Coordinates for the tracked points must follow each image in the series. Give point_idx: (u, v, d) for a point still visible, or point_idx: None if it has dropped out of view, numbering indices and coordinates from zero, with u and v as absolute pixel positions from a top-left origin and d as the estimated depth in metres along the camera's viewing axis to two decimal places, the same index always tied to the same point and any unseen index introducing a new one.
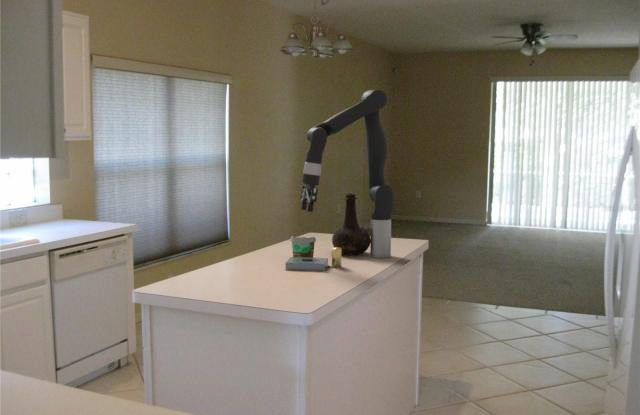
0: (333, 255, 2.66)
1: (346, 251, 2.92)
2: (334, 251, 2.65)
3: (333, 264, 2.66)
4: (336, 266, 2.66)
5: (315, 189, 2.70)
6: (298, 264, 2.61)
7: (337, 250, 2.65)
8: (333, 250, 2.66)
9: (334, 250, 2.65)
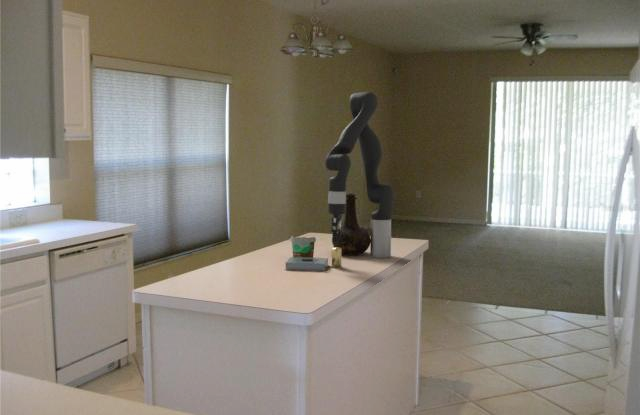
0: (333, 255, 2.66)
1: (346, 251, 2.92)
2: (334, 251, 2.65)
3: (333, 264, 2.66)
4: (336, 266, 2.66)
5: (335, 219, 2.59)
6: (298, 264, 2.61)
7: (337, 250, 2.65)
8: (333, 250, 2.66)
9: (334, 250, 2.65)
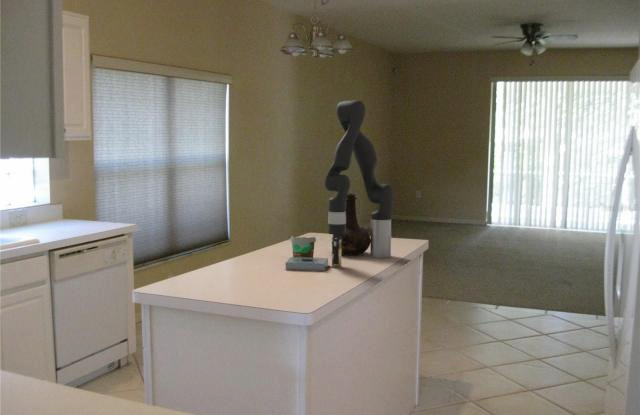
0: None
1: (346, 251, 2.92)
2: (334, 251, 2.65)
3: (333, 264, 2.66)
4: (336, 266, 2.66)
5: (335, 243, 2.60)
6: (298, 264, 2.61)
7: None
8: None
9: (334, 250, 2.65)
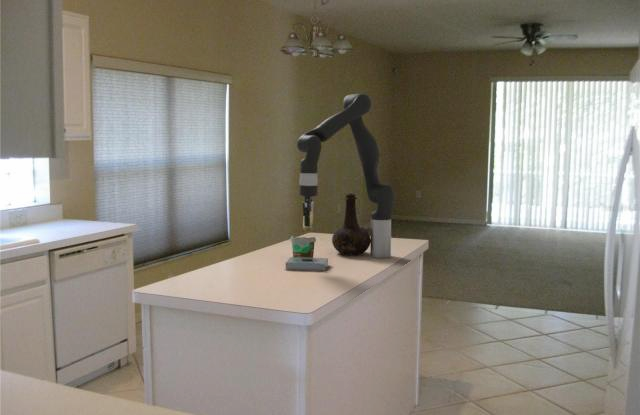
0: (304, 217, 2.62)
1: (346, 251, 2.92)
2: None
3: (304, 226, 2.63)
4: (307, 228, 2.62)
5: (306, 204, 2.57)
6: (298, 264, 2.61)
7: None
8: None
9: None
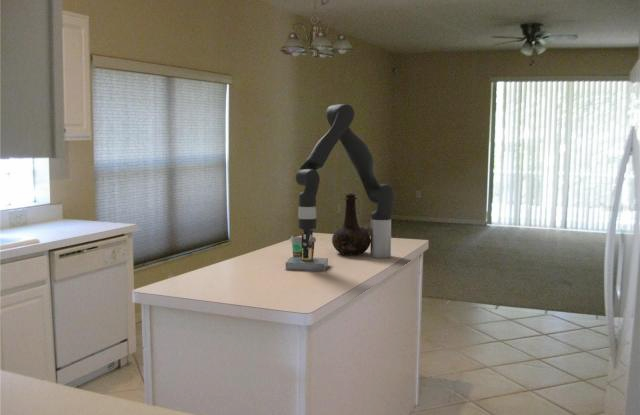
0: None
1: (346, 251, 2.92)
2: None
3: None
4: None
5: (305, 235, 2.58)
6: (298, 264, 2.61)
7: None
8: None
9: None
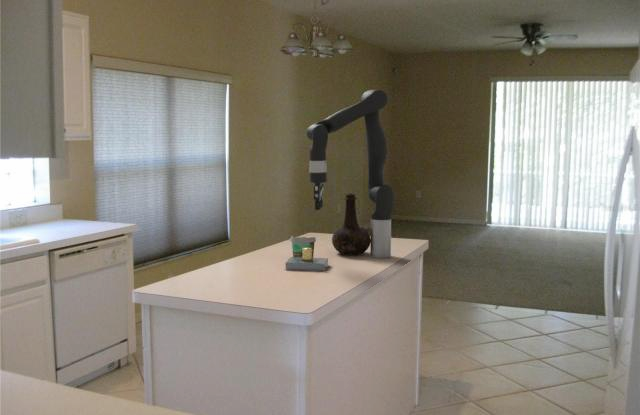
0: (303, 255, 2.65)
1: (345, 251, 2.92)
2: (305, 251, 2.64)
3: None
4: None
5: (316, 187, 2.69)
6: (298, 264, 2.61)
7: (307, 250, 2.64)
8: (303, 250, 2.64)
9: (304, 250, 2.64)
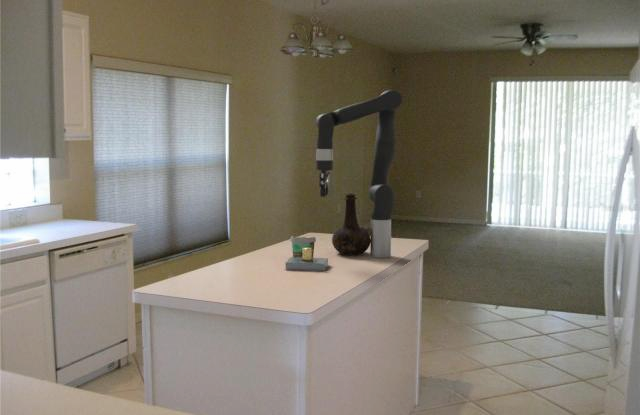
0: (303, 255, 2.65)
1: (345, 251, 2.92)
2: (305, 251, 2.64)
3: None
4: None
5: (322, 174, 2.77)
6: (298, 264, 2.61)
7: (307, 250, 2.64)
8: (303, 250, 2.64)
9: (304, 250, 2.64)
